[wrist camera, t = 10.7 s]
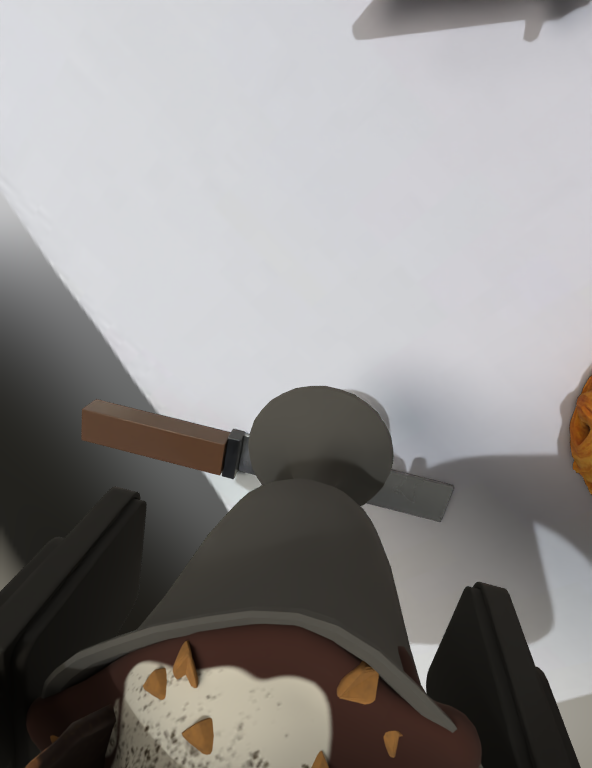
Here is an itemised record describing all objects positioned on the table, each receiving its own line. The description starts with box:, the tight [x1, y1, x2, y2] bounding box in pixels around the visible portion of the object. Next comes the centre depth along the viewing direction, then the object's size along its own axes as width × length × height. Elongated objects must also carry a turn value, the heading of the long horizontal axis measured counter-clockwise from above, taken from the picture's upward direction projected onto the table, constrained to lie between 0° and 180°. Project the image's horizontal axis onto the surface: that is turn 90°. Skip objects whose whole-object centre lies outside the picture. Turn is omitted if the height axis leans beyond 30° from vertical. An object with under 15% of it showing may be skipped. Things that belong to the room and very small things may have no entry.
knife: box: [82, 399, 454, 522], centre depth 28 cm, size 23×3×2 cm, turn 79°
